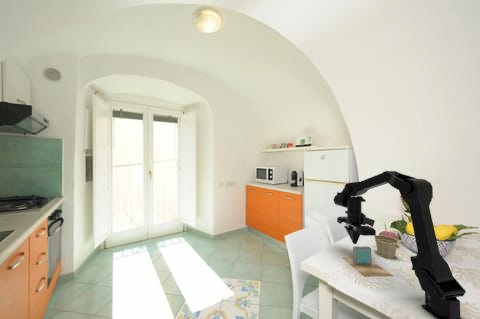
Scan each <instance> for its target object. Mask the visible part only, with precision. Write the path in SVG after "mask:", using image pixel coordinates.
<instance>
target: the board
mask: <svg viewBox="0 0 480 319" xmlns="http://www.w3.org/2000/svg"><path fill="white" fill-rule="evenodd" d="M342 259H343V260H344V261H345V262H346V263H347V264H348V265H350V266H351V267H352V268H353V269H354V270H355V271H356V272H358V273H359V274H360V275H361V276H363V277H364V278H365V277H366V278H367V277H371V278H372V277H394V275H393V274H392V273H391V272H389V271H388V270H386V269H384V268H383V267H382V266H380V265H379V264H378V263H376V262H375V261H373V260H372V264H368V265H356V264H354V263H353V257H342Z"/></svg>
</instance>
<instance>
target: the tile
mask: <svg viewBox="0 0 480 319" xmlns="http://www.w3.org/2000/svg"><path fill="white" fill-rule="evenodd" d="M352 249H353V250H352V252H353V254H352V258H353V263H354V264H356V265H368V264H372V261H373V258H372V247H370V246H368V245H367V246H353V248H352Z"/></svg>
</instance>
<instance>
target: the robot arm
mask: <svg viewBox="0 0 480 319" xmlns="http://www.w3.org/2000/svg"><path fill="white" fill-rule="evenodd" d="M387 184H389V185H390V186H391V187H392V188H394V189H396V190H398V191H399V194H400V196H401V198H402V200H403V201H404V202H405V204H406V205H407V206H408V209H409V214H410V219H411V224H412V229H413V234H414V240H415V245H416V248H417V252H416V253H417V254H416V255H411V256H410V263H411V266H412V267H411V270H412V271H414V275H415V277H416V278H417V280H418V282H419V285H420V288H421V290H422V291H423V292H424V303H425V304H424V303H423V304H421V307H422V308H423V309H424V310H426V311H427V312H428V313H429V314H430V315H432V316H433V317H435V319H463V317H462V316H461V300H460V299H459V297H460V298H461V297H464V296H465V294H466V293H467V292H466V289H465V288H464V287H463V286H462V284H460V283H459V281H458V280H457V279H456V278H455V276H453V272H452V270H451V268H450V265H449V263H448V262H447V261H446V260H445V258H444V257H443V255H442V254H441V252H440V250H439V245H438V241H437V235H436V231H435V230H436V229H435V227H434V226H435V225H434V222H433V217H432V213H431V209H430V204H431V203H432V200H433V198H434V196H433V195H434V194H433V193H434V191H433V189H434V188H433V185H432V182H430V181H428V180H427V179H424V178H417V177H414V176H411V175H407V174H404V173H400V172H398V171H397V170H384V171H382V172H381V173H378V174H376V175H373V176H371V177H368V178H366V179H363V180H361V181H352V182H348V183H345V184H344V187H343V189H342V190H341V192H340V191H339V192H336V195H335V196H334V198H333V203H334V204H335V205H336V206H339V207H343V208H346V209H347V210H345V211H344V213H345V214H346V216H338V217H337V218H336V222H337V223H338V224H341V225H342V223H344V224H345V225H344V229H345V231H346V232H347V234H348V236H349V238H350V240H351V242H352V244H353V245H357V244H358V241H359V239H360V237H361V236H366V237H369V236H371V237H374V236H376V235H377V231H376V229H375V228H374V224H375V222H376V220H374V219H372V218H370V217H367V216H366V214H365V213H363V211H362V210H363V208H362V203H365V202H366V199H365V198H364V197H363V196H362V195H364V194H366V193H367V192H368V191H369V190H371V189H374V188H378V187H381V186H384V185H387Z"/></svg>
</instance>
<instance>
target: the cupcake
mask: <svg viewBox="0 0 480 319" xmlns="http://www.w3.org/2000/svg"><path fill="white" fill-rule="evenodd" d="M386 224H387V223H386V222H385V221H384V224H383V225H384V229H385V230H384V231H380V232H379V233H378V235H382V236H388V237H392V238H394V239H396V240H398V241H399V240H400V237H399V235H398V234H396V233H394V232H392V231H388V229H387V225H386Z"/></svg>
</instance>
